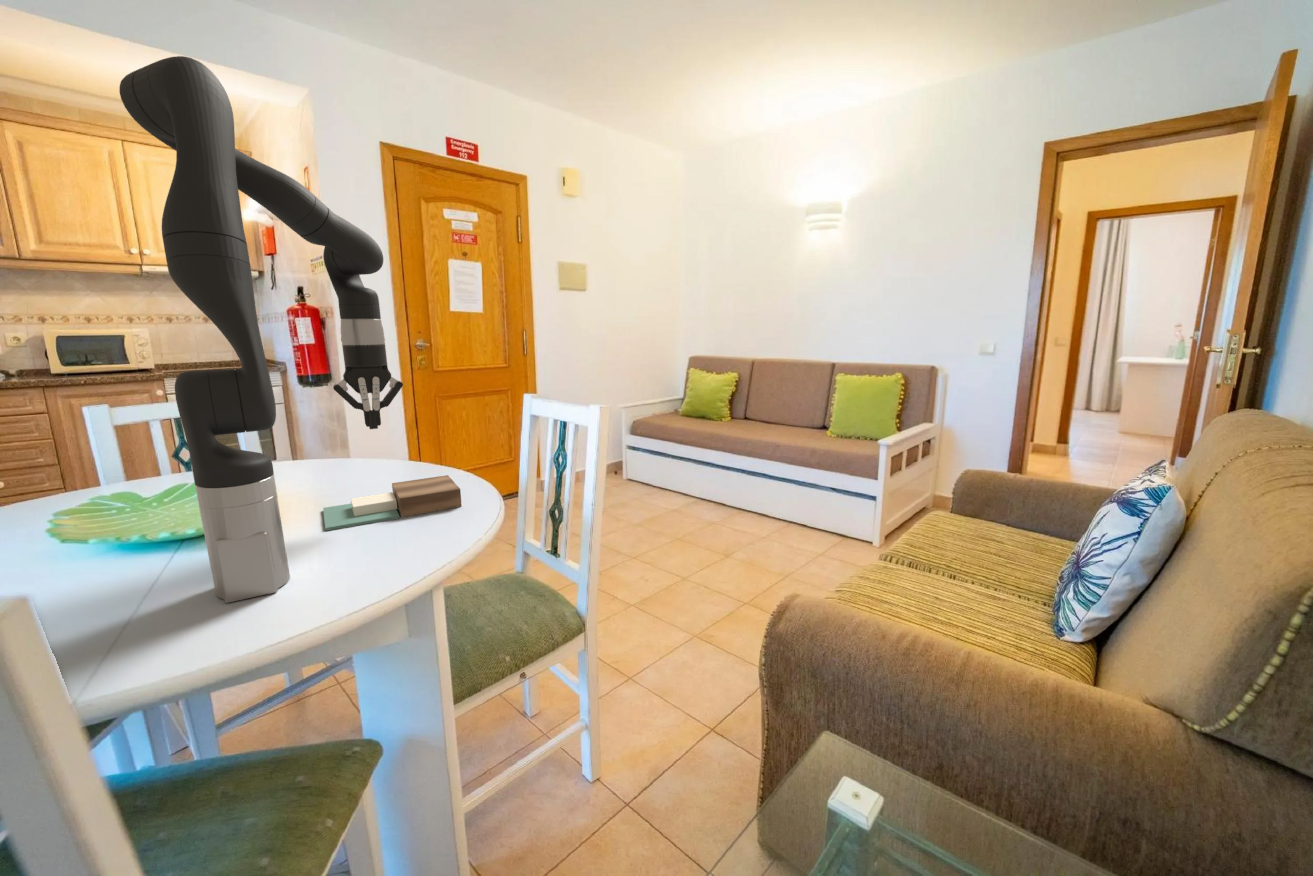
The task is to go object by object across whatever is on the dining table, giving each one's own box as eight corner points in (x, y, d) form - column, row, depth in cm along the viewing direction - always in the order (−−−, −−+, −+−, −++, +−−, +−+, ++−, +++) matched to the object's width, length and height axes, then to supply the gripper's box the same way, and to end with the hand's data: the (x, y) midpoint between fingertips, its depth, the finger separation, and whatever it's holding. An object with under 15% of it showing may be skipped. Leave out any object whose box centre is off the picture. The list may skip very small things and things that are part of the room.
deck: (461, 506, 117) (460, 488, 116) (401, 516, 110) (399, 498, 110) (449, 491, 127) (448, 475, 126) (393, 500, 120) (391, 483, 119)
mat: (399, 518, 110) (399, 515, 110) (325, 531, 103) (325, 528, 103) (390, 499, 120) (390, 497, 120) (323, 510, 114) (323, 507, 113)
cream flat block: (397, 508, 113) (396, 500, 113) (354, 516, 109) (353, 507, 108) (393, 500, 118) (392, 492, 118) (351, 507, 114) (350, 498, 113)
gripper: (324, 343, 99) (336, 435, 103) (402, 342, 106) (411, 428, 110) (324, 342, 106) (336, 428, 109) (398, 341, 112) (406, 422, 116)
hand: (373, 428), depth 109 cm, fingers closed
